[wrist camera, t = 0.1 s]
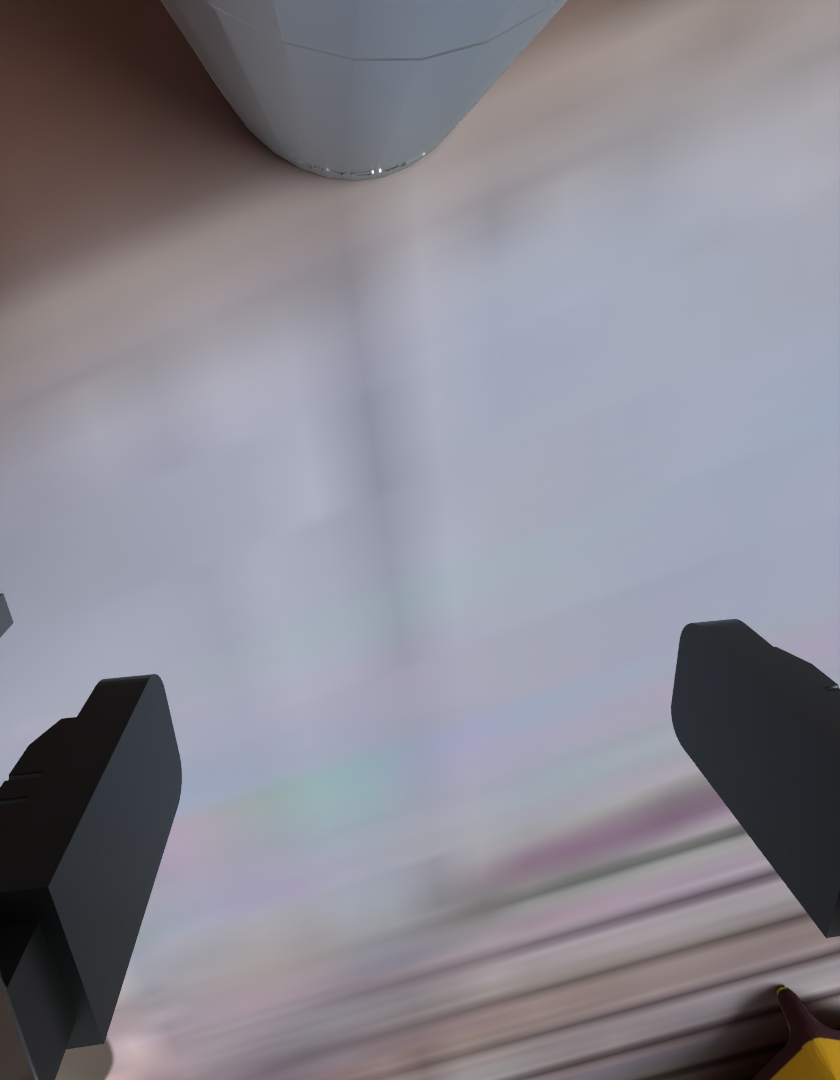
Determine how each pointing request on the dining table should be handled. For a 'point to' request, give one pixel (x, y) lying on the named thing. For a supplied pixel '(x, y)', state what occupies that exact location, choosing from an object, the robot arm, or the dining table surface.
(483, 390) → the dining table surface
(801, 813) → the robot arm
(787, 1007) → the decorative lantern
